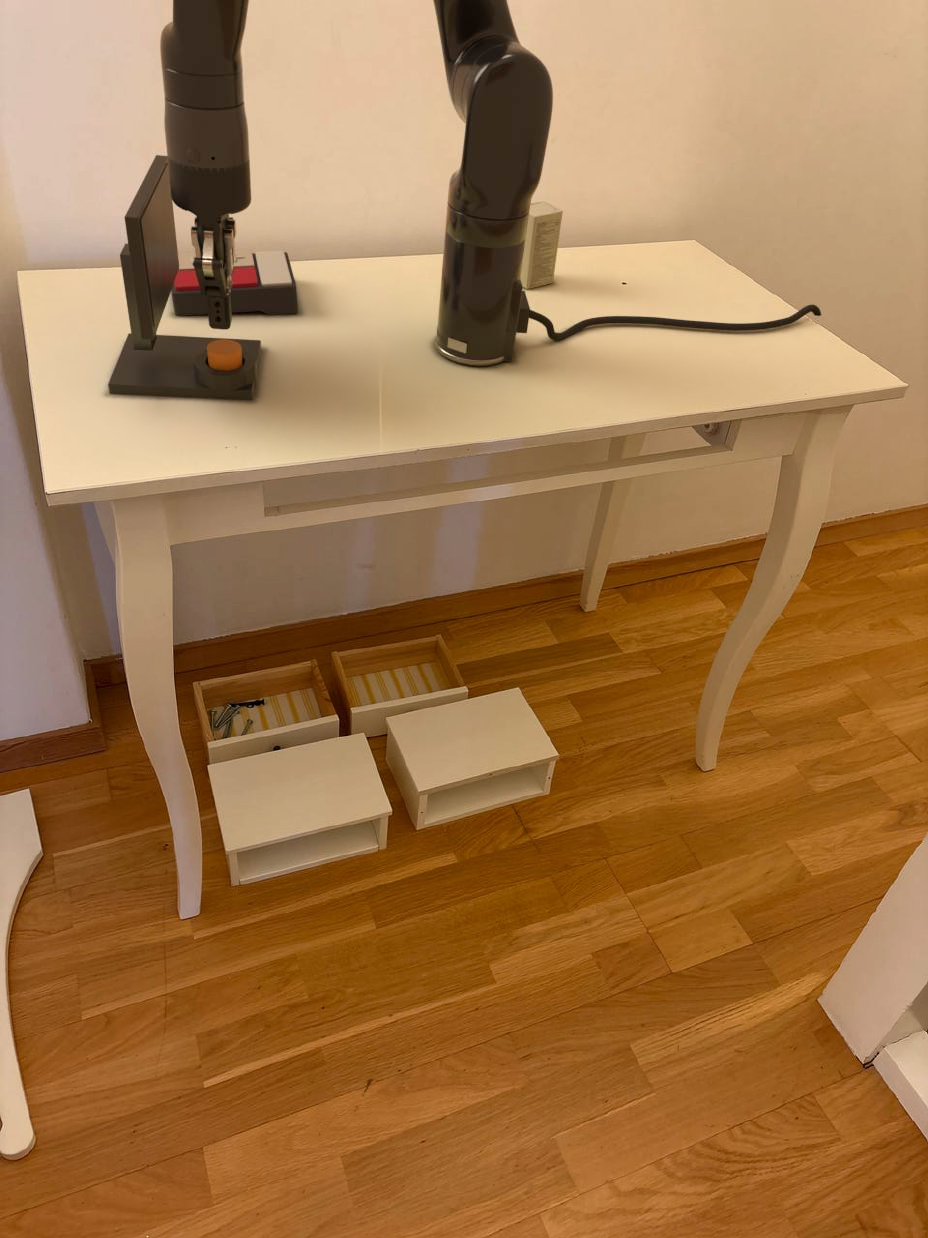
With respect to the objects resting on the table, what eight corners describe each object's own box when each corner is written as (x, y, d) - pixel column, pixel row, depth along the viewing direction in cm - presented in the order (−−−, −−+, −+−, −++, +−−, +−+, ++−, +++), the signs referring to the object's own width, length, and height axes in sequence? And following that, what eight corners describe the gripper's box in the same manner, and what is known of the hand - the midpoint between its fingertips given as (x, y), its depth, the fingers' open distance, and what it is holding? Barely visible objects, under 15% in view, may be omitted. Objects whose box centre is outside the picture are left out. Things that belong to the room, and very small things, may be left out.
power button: (243, 357, 106) (242, 339, 104) (240, 372, 103) (239, 355, 102) (210, 355, 105) (209, 338, 104) (206, 371, 102) (204, 353, 101)
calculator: (168, 250, 122) (286, 245, 125) (173, 283, 125) (289, 277, 128) (170, 287, 114) (296, 280, 117) (175, 321, 117) (298, 313, 120)
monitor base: (263, 349, 113) (262, 325, 111) (254, 401, 104) (253, 376, 102) (129, 342, 111) (126, 318, 109) (109, 395, 102) (104, 369, 100)
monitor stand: (156, 337, 106) (144, 244, 99) (152, 350, 104) (139, 255, 97) (138, 336, 106) (125, 243, 99) (133, 349, 104) (119, 254, 97)
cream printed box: (534, 272, 138) (545, 200, 131) (553, 283, 135) (565, 211, 129) (506, 277, 135) (515, 204, 129) (525, 289, 133) (535, 215, 126)
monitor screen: (180, 267, 109) (168, 155, 101) (154, 340, 95) (138, 217, 87) (162, 266, 108) (149, 154, 100) (134, 339, 95) (116, 216, 87)
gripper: (242, 178, 85) (251, 357, 97) (255, 134, 95) (262, 301, 106) (155, 171, 84) (175, 352, 96) (177, 127, 94) (192, 297, 106)
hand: (220, 325), depth 101 cm, fingers closed
